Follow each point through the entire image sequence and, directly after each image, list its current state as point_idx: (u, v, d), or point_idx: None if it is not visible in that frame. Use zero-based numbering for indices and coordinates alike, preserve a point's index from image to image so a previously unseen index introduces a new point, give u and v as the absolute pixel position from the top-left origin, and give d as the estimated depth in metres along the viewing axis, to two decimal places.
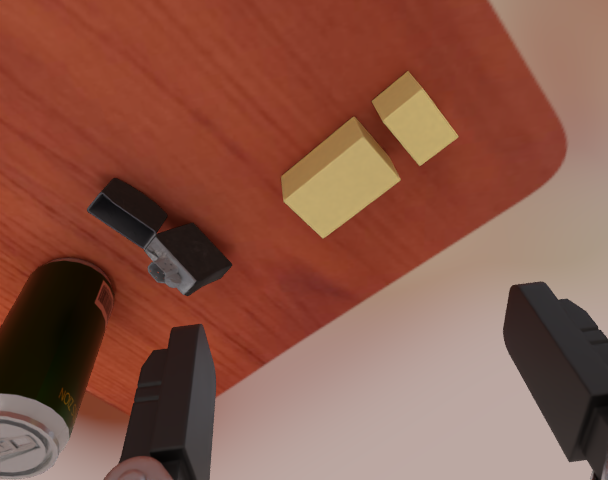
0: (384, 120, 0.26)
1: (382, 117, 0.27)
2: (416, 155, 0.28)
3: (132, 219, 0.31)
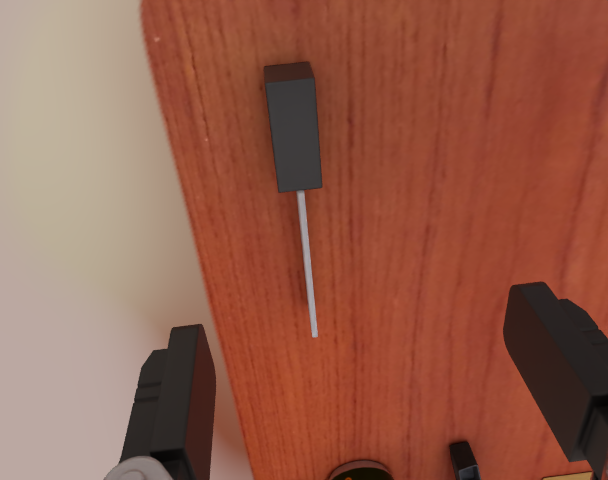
0: None
1: None
2: None
3: (456, 471, 0.40)
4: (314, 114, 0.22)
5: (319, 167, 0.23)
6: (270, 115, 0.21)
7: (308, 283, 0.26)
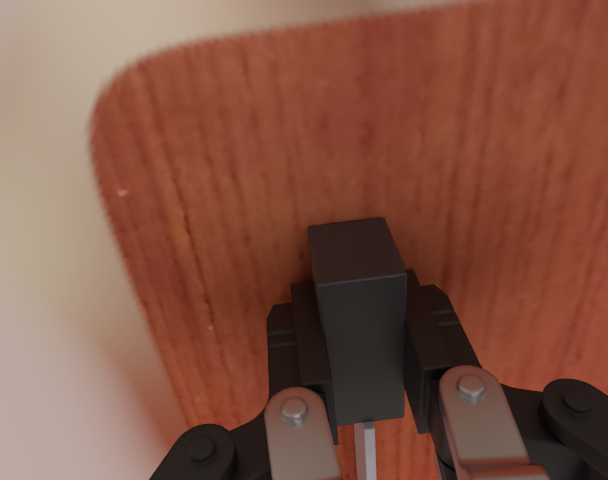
0: None
1: None
2: None
3: None
4: (401, 324, 0.12)
5: (402, 393, 0.14)
6: (324, 329, 0.12)
7: None
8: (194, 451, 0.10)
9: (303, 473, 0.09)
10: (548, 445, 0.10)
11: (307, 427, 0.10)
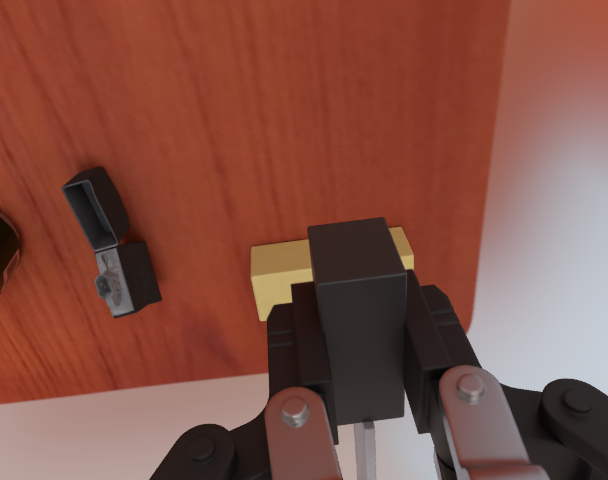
0: None
1: None
2: None
3: (93, 213, 0.28)
4: (401, 324, 0.12)
5: (402, 392, 0.14)
6: (324, 329, 0.12)
7: None
8: (194, 451, 0.10)
9: (303, 473, 0.09)
10: (548, 445, 0.10)
11: (307, 427, 0.10)
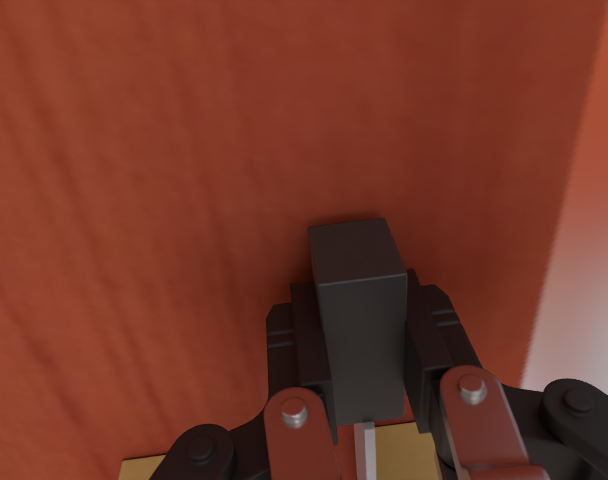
0: None
1: None
2: None
3: None
4: (401, 324, 0.12)
5: (402, 393, 0.14)
6: (324, 329, 0.12)
7: None
8: (193, 451, 0.10)
9: (303, 473, 0.09)
10: (549, 445, 0.10)
11: (306, 427, 0.10)
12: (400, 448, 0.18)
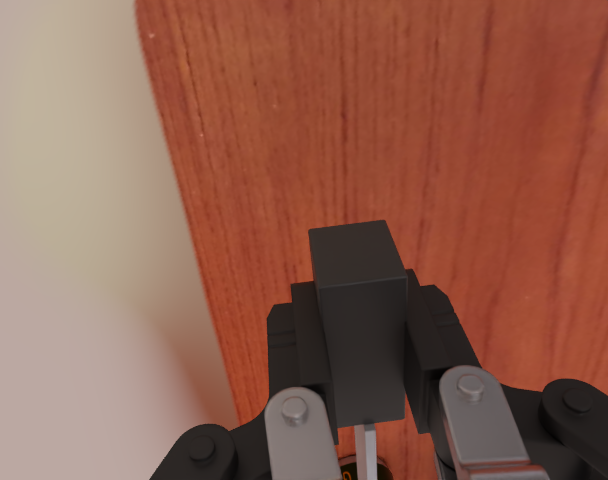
0: None
1: None
2: None
3: None
4: (402, 327, 0.12)
5: (403, 395, 0.14)
6: (325, 332, 0.12)
7: None
8: (194, 451, 0.10)
9: (303, 473, 0.09)
10: (548, 445, 0.10)
11: (307, 427, 0.10)
12: None
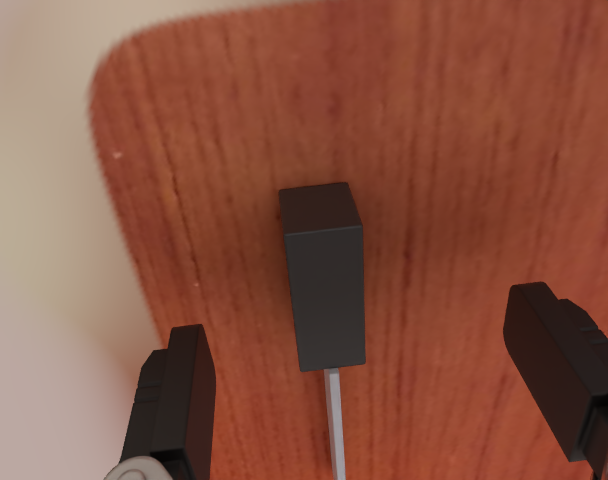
0: None
1: None
2: None
3: None
4: (359, 273, 0.14)
5: (363, 340, 0.15)
6: (291, 277, 0.14)
7: (339, 474, 0.18)
8: None
9: None
10: None
11: None
12: None
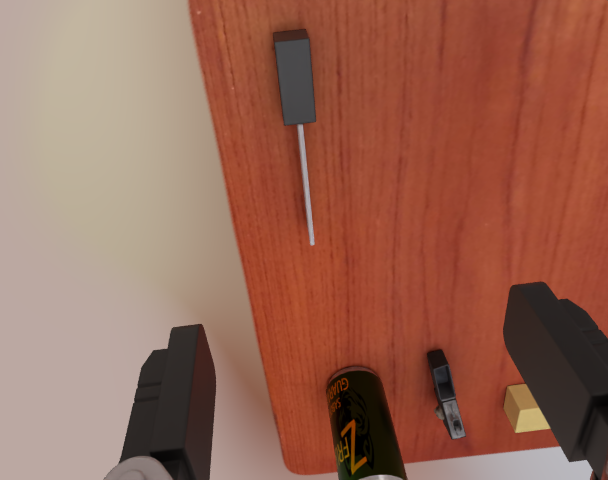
0: None
1: None
2: None
3: (433, 375, 0.48)
4: (309, 65, 0.30)
5: (313, 105, 0.32)
6: (278, 66, 0.30)
7: (306, 199, 0.35)
8: None
9: None
10: None
11: None
12: None
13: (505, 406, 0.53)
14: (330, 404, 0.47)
